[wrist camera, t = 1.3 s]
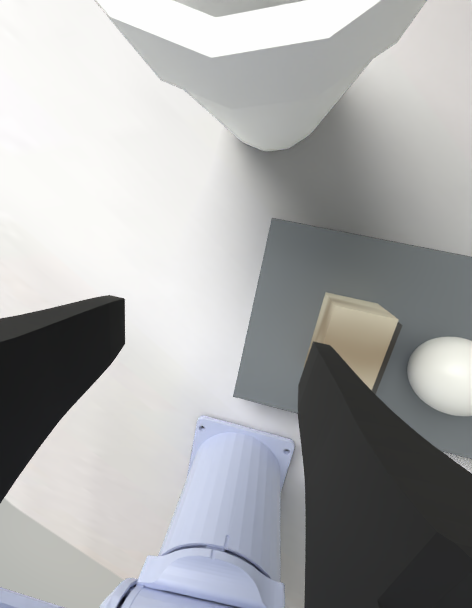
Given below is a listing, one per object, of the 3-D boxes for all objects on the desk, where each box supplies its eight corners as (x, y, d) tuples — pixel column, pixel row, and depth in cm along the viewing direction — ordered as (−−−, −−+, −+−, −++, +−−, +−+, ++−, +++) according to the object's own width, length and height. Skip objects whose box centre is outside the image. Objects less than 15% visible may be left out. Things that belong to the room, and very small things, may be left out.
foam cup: (365, -25, 14) (923, -1689, 2) (356, 170, 17) (579, -5, 4) (189, 10, 16) (-139, -781, 3) (203, 184, 18) (39, 86, 6)
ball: (453, 395, 17) (504, 444, 13) (385, 378, 17) (416, 421, 13) (482, 335, 16) (548, 369, 12) (409, 319, 16) (450, 347, 12)
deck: (527, 451, 19) (562, 482, 17) (238, 377, 21) (233, 396, 19) (627, 289, 16) (688, 299, 14) (272, 219, 18) (272, 217, 16)
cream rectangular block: (357, 379, 17) (372, 409, 14) (303, 366, 18) (308, 393, 15) (384, 304, 16) (407, 321, 13) (325, 292, 16) (335, 305, 13)
